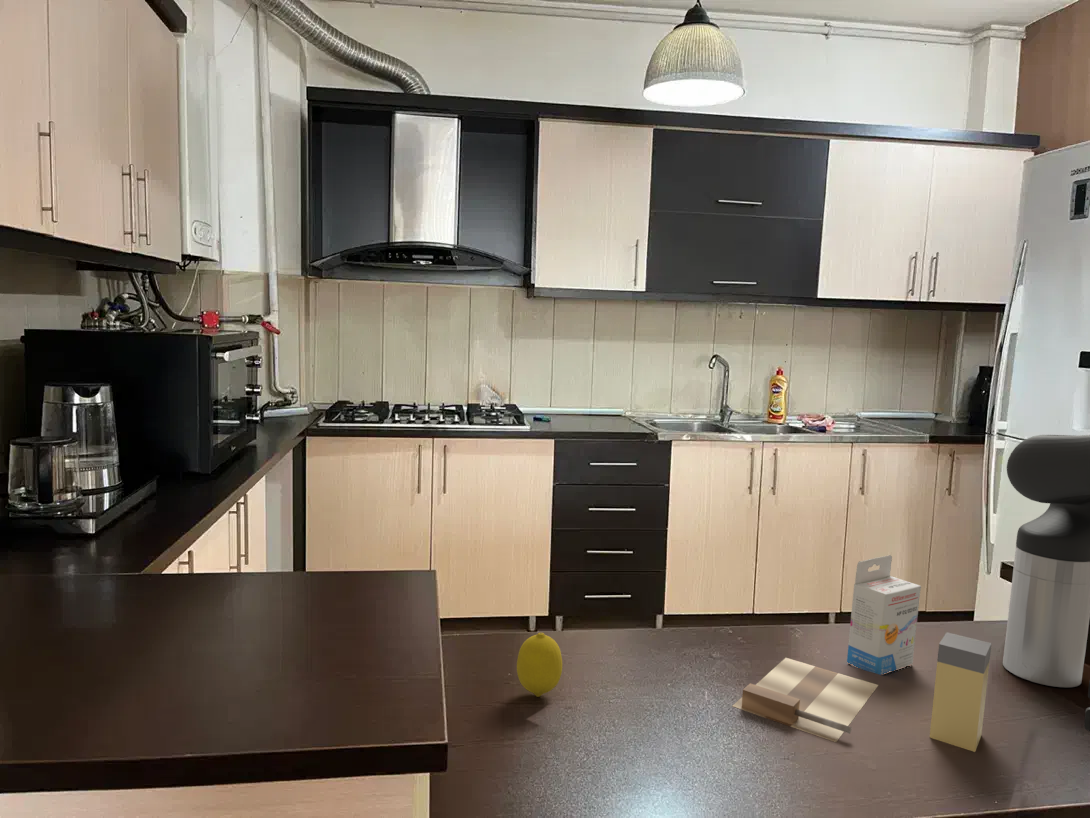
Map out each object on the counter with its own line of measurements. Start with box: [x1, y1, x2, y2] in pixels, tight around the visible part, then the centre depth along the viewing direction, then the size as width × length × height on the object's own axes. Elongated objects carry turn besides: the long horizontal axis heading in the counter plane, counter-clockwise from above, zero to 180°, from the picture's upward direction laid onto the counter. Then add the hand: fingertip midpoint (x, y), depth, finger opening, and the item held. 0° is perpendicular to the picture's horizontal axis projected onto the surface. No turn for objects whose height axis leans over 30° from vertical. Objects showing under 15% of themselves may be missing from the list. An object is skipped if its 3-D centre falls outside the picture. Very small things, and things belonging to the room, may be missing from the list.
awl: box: [741, 682, 852, 734], centre depth 88 cm, size 2×12×2 cm, turn 53°
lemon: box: [516, 632, 563, 698], centre depth 93 cm, size 6×6×8 cm
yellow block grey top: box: [929, 631, 992, 753], centre depth 86 cm, size 4×4×12 cm
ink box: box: [846, 554, 922, 676], centre depth 106 cm, size 8×5×15 cm, turn 123°
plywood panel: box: [731, 657, 879, 743], centre depth 94 cm, size 18×12×1 cm, turn 143°
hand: (1086, 702), depth 78 cm, fingers open, 8 cm apart
